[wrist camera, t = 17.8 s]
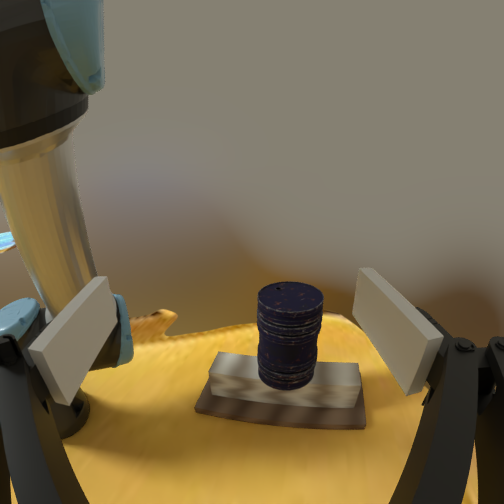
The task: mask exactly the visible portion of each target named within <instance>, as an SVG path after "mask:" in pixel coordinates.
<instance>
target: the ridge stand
mask: <svg viewBox="0 0 504 504" xmlns="http://www.w3.org/2000/svg"><path fill="white" fill-rule="evenodd" d="M195 411H196V412H197V413H202V414H206V415H211V416H216V417H221V418H227V419H232V420H238V421H245V422H251V423H259V424H267V425H275V426H285V427H297V428H312V429H364V428H365V426H366V417H365V407H364V398H363V390H362V382H361V375H360V372H359V365H358V363H338V362H316V366H315V369H314V376H313V378H312V380H311V381H310V382H309V383H308V384H307V385H306V386H304V387H302V388H300V389H296V390H291V391H282V390H277V389H273V388H271V387H269V386H267V385H266V384H264V383H263V382H262V381H261V379H260V378H259V375H258V362H257V356H248V355H240V354H232V353H225V352H218V354H217V356H216V358H215V360H214V362H213V364H212V366H211V368H210V370H209V379H208V381H207V383H206V385H205V387H204V389H203V391H202V393H201V395H200V397H199V399H198V401H197V403H196V405H195Z"/></svg>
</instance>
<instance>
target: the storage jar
mask: <svg viewBox="0 0 504 504" xmlns="http://www.w3.org/2000/svg"><path fill="white" fill-rule="evenodd" d="M323 299H324V296H323V294H322V292H321V291H320V290H319V289H317V288H316V287H314V286H311V285H309V284H305V283H301V282H278V283H273V284H270V285H267V286H265V287H263V288H262V289H261V290H260V291H259V292H258V309H257V326H258V330H259V344H258V354H257V362H258V375H259V378H260V379H261V381H262V382H263V383H264V384H266V385H267V386H269V387H271V388H273V389H277V390H282V391H291V390H296V389H300V388H302V387H304V386H306V385H307V384H308V383H309V382H310V381H311V380H312V378H313V376H314V369H315V366H316V361H317V351H318V349H317V338H318V334H319V332H320V329H321V322H322V315H323V311H322V309H323Z"/></svg>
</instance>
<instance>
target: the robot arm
mask: <svg viewBox="0 0 504 504" xmlns="http://www.w3.org/2000/svg"><path fill="white" fill-rule="evenodd" d="M103 18H104V17H103V0H0V202H1V205H2V208H3V211H4V214H5V217H6V220H7V223H8V225H9V228H10V230H11V233H12V236H13V238H14V241H15V243H16V246H17V248H18V251H19V253H20V255H21V257H22V260H23V262H24V264H25V266H26V268H27V270H28V273H29V274H30V277H31V279H32V281H33V283H34V285H35V287H36V289H37V290H38V292H39V294H40V296H41V298H42V300H43V302H44V304H45V305H46V308H40V305H39V303H38V302H37V301H36V300H35V299H33V298H23V299H20V300H17V301H14V302H12V303H10V304H8V305H7V306H5V307H4V308H2V309H1V310H0V504H12V503H11V489H10V477H11V481H12V484H13V488H14V492H15V495H16V498H17V502H18V504H89V502H88V500H87V498H86V496H85V494H84V492H83V490H82V488H81V486H80V484H79V482H78V480H77V478H76V476H75V473H74V471H73V469H72V467H71V464H70V462H69V459H68V457H67V454H66V452H65V449H64V447H63V444H62V441H61V439H63V438H66V437H69V436H71V435H73V434H75V433H76V432H77V431H79V430H80V429H81V428H82V427H83V425H84V424H85V422H86V421H87V419H88V416H89V411H90V407H89V402H88V400H87V398H86V396H85V394H84V392H83V391H82V389H81V388H80V385H81V383H82V382H83V380H84V378H85V376H86V374H87V373H88V371H94V370H99V369H105V368H110V367H112V368H116V367H118V366H119V365H123V364H127V363H129V362H130V361H131V360H132V359H133V355H134V349H133V341H132V336H131V328H130V322H129V317H128V312H127V308H126V303H125V300H124V298H123V297H122V296H121V295H119V294H117V295H116V294H112V293H111V291H110V288H109V283H108V278H107V277H98V275H97V271H96V268H95V264H94V260H93V256H92V252H91V248H90V244H89V239H88V235H87V230H86V225H85V220H84V215H83V210H82V205H81V198H80V192H79V186H78V180H77V171H76V163H75V153H74V142H73V131H74V129H75V127H76V126H77V125H78V124H79V123H80V122H81V120H82V119H83V118H84V117H85V116H86V114H87V112H88V95H93V94H95V93H96V92H98V91H100V90H101V89H102V88H103V87H104V84H105V70H104V69H105V68H104V21H103V20H104V19H103ZM352 314H353V316H354V317H355V319H356V320H357V321H358V323H359V324H360V326H361V327H362V329H363V330H364V332H365V333H366V335H367V336H368V338H369V339H370V341H371V342H372V344H373V345H374V347H375V348H376V350H377V351H378V353H379V354H380V356H381V357H382V359H383V360H384V362H385V363H386V365H387V367H388V368H389V370H390V371H391V373H392V374H393V376H394V377H395V379H396V381H397V382H398V384H399V385H400V387H401V388H402V390H403V392H404V393H405V395H406V396H408V395H411V394H414V393H418V392H421V391H422V389H423V386H424V384H425V382H426V380H427V382H428V383H429V385H430V386H431V387H430V389H429V391H428V393H427V395H426V397H425V399H424V401H423V403H422V406H424V409H423V413H422V416H421V420H420V423H419V427H418V430H417V433H416V436H415V439H414V442H413V445H412V448H411V451H410V454H409V457H408V459H407V462H406V465H405V467H404V470H403V472H402V475H401V477H400V480H399V482H398V484H397V487H396V489H395V491H394V493H393V495H392V498H391V500H390V502H389V504H461V503H462V500H463V496H464V492H465V488H466V484H467V479H468V475H469V470H470V465H471V459H472V453H473V446H474V439H475V448H476V458H477V472H478V504H504V337H498V336H497V337H493V338H491V339H490V341H489V344H488V346H487V347H485V348H477V347H476V346H475V344H474V343H473V342H471V341H470V340H468V339H465V338H459V337H458V338H453V337H452V336H451V335H450V334H449V333H448V332H447V331H445V329H444V328H443V327H442V326H441V325H440V324H438V323H437V322H436V321H435V320H434V319H433V318H432V317H431V316H430V315H429V314H428V313H427V312H425V311H424V310H422V309H420V308H418V307H414V306H413V305H412V304H411V303H409V302H408V300H406V299H405V298H404V297H403V296H402V295H401V294H400V293H399V292H398V291H397V290H396V289H395V288H394V287H393V286H391V285H390V284H389V283H388V282H387V281H386V280H385V279H384V278H383V277H381V276H380V275H379V274H378V273H377V272H376V271H375V270H374V269H373V268H359V271H358V279H357V287H356V293H355V300H354V307H353V312H352ZM495 386H496V392H495V389H494V388H495ZM424 404H425V405H424Z"/></svg>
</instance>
